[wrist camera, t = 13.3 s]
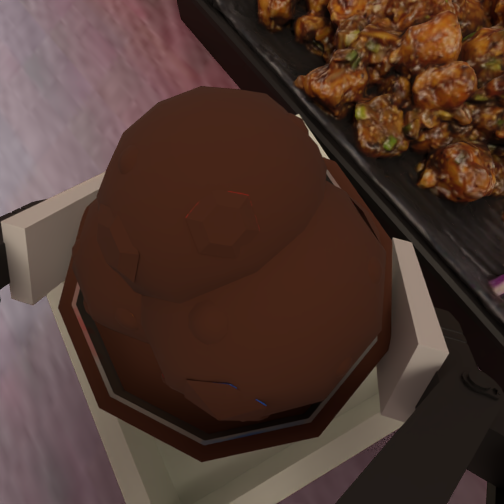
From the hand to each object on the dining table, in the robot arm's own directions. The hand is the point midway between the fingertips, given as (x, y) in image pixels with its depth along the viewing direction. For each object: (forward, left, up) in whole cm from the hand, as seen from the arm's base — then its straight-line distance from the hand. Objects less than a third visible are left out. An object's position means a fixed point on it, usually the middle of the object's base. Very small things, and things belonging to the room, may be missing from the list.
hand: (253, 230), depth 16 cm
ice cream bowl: (+2, +2, -6) cm, 7 cm away
